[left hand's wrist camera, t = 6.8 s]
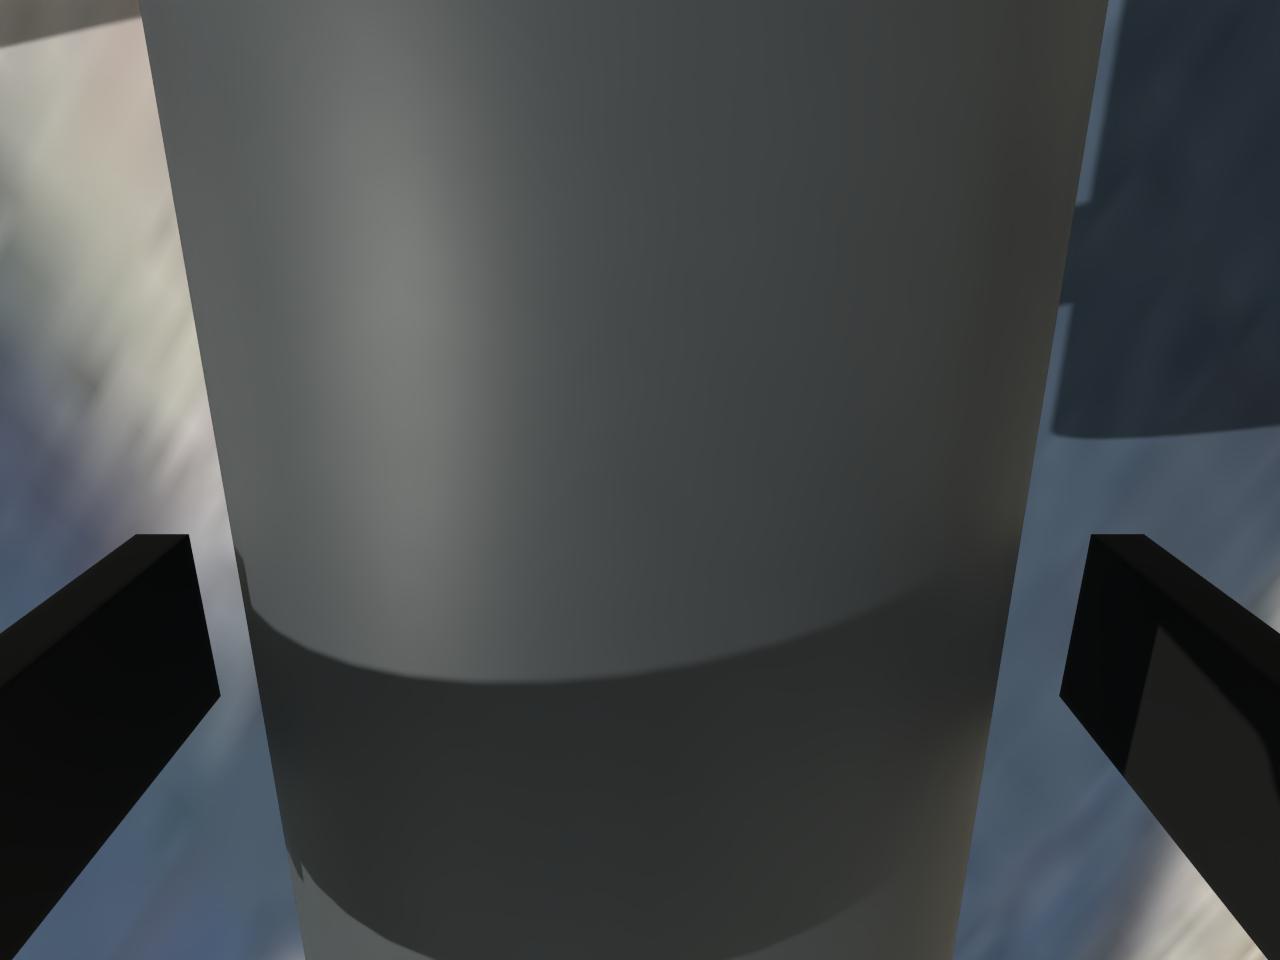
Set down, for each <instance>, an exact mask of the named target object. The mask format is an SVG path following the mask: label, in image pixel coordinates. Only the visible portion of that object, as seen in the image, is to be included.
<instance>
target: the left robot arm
mask: <svg viewBox="0 0 1280 960" xmlns="http://www.w3.org/2000/svg"><path fill="white" fill-rule="evenodd" d="M220 696H221V695H220V690H219V685H218V680H217V675H216V670H215V665H214V660H213V655H212V650H211V645H210V640H209V634H208V629H207V624H206V619H205V614H204V609H203V604H202V599H201V594H200V589H199V584H198V579H197V574H196V569H195V564H194V558H193V553H192V548H191V543H190V538H189V534H136V535H134V536H133V537H132V538H130V539H129V540H128V541H126V542H125V543H124V544H122V545H121V546H119V547H118V548H117V549H115V550H114V551H113V552H111V553H110V554H109V555H107V556H106V557H104V558H103V559H102V560H100V561H99V562H98V563H96V564H95V565H93V566H92V567H91V568H89V569H88V570H87V571H85V572H84V573H83V574H81V575H80V576H78V577H77V578H76V579H74V580H73V581H72V582H70V583H69V584H67V585H66V586H65V587H63V588H62V589H61V590H59V591H58V592H57V593H55V594H54V595H52V596H51V597H50V598H48V599H47V600H46V601H44V602H43V603H42V604H40V605H39V606H37V607H36V608H35V609H33V610H32V611H31V612H29V613H28V614H26V615H25V616H24V617H22V618H21V619H20V620H18V621H17V622H16V623H14V624H13V625H11V626H10V627H9V628H7V629H6V630H5V631H3V632H2V633H1V634H0V960H12V959H13V958H14V957H15V955H16V954H17V953H18V952H19V950H20V949H21V948H22V946H23V945H24V944H25V943H26V941H27V940H28V939H29V938H30V936H31V935H32V934H33V933H34V931H35V930H36V929H37V927H38V926H39V925H40V924H41V922H42V921H43V920H44V919H45V917H46V916H47V915H48V914H49V912H50V911H51V910H52V909H53V907H54V906H55V905H56V903H57V902H58V901H59V900H60V898H61V897H62V896H63V895H64V893H65V892H66V891H67V890H68V888H69V887H70V886H71V884H72V883H73V882H74V881H75V879H76V878H77V877H78V876H79V874H80V873H81V872H82V871H83V869H84V868H85V867H86V866H87V864H88V863H89V862H90V860H91V859H92V858H93V857H94V855H95V854H96V853H97V852H98V850H99V849H100V848H101V847H102V845H103V844H104V843H105V842H106V840H107V839H108V838H109V836H110V835H111V834H112V833H113V831H114V830H115V829H116V828H117V826H118V825H119V824H120V823H121V821H122V820H123V819H124V817H125V816H126V815H127V814H128V812H129V811H130V810H131V809H132V807H133V806H134V805H135V804H136V802H137V801H138V800H139V799H140V797H141V796H142V795H143V793H144V792H145V791H146V790H147V788H148V787H149V786H150V785H151V783H152V782H153V781H154V780H155V778H156V777H157V776H158V774H159V773H160V772H161V771H162V769H163V768H164V767H165V766H166V764H167V763H168V762H169V761H170V759H171V758H172V757H173V756H174V754H175V753H176V752H177V750H178V749H179V748H180V747H181V745H182V744H183V743H184V742H185V740H186V739H187V738H188V737H189V735H190V734H191V733H192V731H193V730H194V729H195V728H196V726H197V725H198V724H199V723H200V721H201V720H202V719H203V718H204V716H205V715H206V714H207V713H208V711H209V710H210V709H211V707H212V706H213V705H214V704H215V702H216V701H217V700H218V699H219V697H220ZM1059 696H1060V697H1061V699H1062V700H1063V701H1064V702H1065V704H1066V705H1067V706H1068V707H1069V709H1070V710H1071V711H1072V713H1073V714H1074V715H1075V716H1076V718H1077V719H1078V720H1079V721H1080V723H1081V724H1082V725H1083V726H1084V728H1085V729H1086V730H1087V731H1088V733H1089V734H1090V735H1091V737H1092V738H1093V739H1094V740H1095V742H1096V743H1097V744H1098V745H1099V747H1100V748H1101V749H1102V750H1103V752H1104V753H1105V754H1106V756H1107V757H1108V758H1109V759H1110V761H1111V762H1112V763H1113V764H1114V766H1115V767H1116V768H1117V769H1118V771H1119V772H1120V773H1121V774H1122V776H1123V777H1124V778H1125V780H1126V781H1127V782H1128V783H1129V785H1130V786H1131V787H1132V788H1133V790H1134V791H1135V792H1136V793H1137V795H1138V796H1139V797H1140V799H1141V800H1142V801H1143V802H1144V804H1145V805H1146V806H1147V807H1148V809H1149V810H1150V811H1151V812H1152V814H1153V815H1154V816H1155V817H1156V819H1157V820H1158V821H1159V823H1160V824H1161V825H1162V826H1163V828H1164V829H1165V830H1166V831H1167V833H1168V834H1169V835H1170V836H1171V838H1172V839H1173V840H1174V842H1175V843H1176V844H1177V845H1178V847H1179V848H1180V849H1181V850H1182V852H1183V853H1184V854H1185V855H1186V857H1187V858H1188V859H1189V860H1190V862H1191V863H1192V864H1193V866H1194V867H1195V868H1196V869H1197V871H1198V872H1199V873H1200V874H1201V876H1202V877H1203V878H1204V879H1205V881H1206V882H1207V883H1208V884H1209V886H1210V887H1211V888H1212V890H1213V891H1214V892H1215V893H1216V895H1217V896H1218V897H1219V898H1220V900H1221V901H1222V902H1223V903H1224V905H1225V906H1226V907H1227V909H1228V910H1229V911H1230V912H1231V914H1232V915H1233V916H1234V917H1235V919H1236V920H1237V921H1238V922H1239V924H1240V925H1241V926H1242V927H1243V929H1244V930H1245V931H1246V933H1247V934H1248V935H1249V936H1250V938H1251V939H1252V940H1253V941H1254V943H1255V944H1256V945H1257V946H1258V948H1259V949H1260V950H1261V952H1262V953H1263V954H1264V955H1265V957H1266V958H1267V959H1268V960H1280V634H1279V633H1278V632H1277V631H1275V630H1274V629H1273V628H1271V627H1270V626H1269V625H1267V624H1266V623H1264V622H1263V621H1262V620H1260V619H1259V618H1258V617H1256V616H1255V615H1254V614H1252V613H1251V612H1249V611H1248V610H1247V609H1245V608H1244V607H1243V606H1241V605H1240V604H1238V603H1237V602H1236V601H1234V600H1233V599H1232V598H1230V597H1229V596H1228V595H1226V594H1225V593H1223V592H1222V591H1221V590H1219V589H1218V588H1217V587H1215V586H1214V585H1213V584H1211V583H1210V582H1208V581H1207V580H1206V579H1204V578H1203V577H1202V576H1200V575H1199V574H1197V573H1196V572H1195V571H1193V570H1192V569H1191V568H1189V567H1188V566H1187V565H1185V564H1184V563H1182V562H1181V561H1180V560H1178V559H1177V558H1176V557H1174V556H1173V555H1171V554H1170V553H1169V552H1167V551H1166V550H1165V549H1163V548H1162V547H1161V546H1159V545H1158V544H1156V543H1155V542H1154V541H1152V540H1151V539H1150V538H1148V537H1147V536H1146V535H1144V534H1091V538H1090V543H1089V548H1088V553H1087V558H1086V564H1085V569H1084V574H1083V579H1082V584H1081V589H1080V594H1079V599H1078V604H1077V609H1076V614H1075V619H1074V624H1073V629H1072V634H1071V640H1070V645H1069V650H1068V655H1067V660H1066V665H1065V670H1064V675H1063V680H1062V685H1061V690H1060V695H1059Z"/></svg>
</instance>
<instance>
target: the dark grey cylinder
mask: <svg viewBox="0 0 1280 960" xmlns="http://www.w3.org/2000/svg"><path fill="white" fill-rule="evenodd" d="M139 4H140V10H141V15H142V21H143V27H144V33H145V38H146V44H147V50H148V56H149V61H150V67H151V73H152V79H153V84H154V90H155V96H156V102H157V107H158V113H159V119H160V125H161V130H162V136H163V142H164V148H165V153H166V159H167V165H168V171H169V176H170V182H171V188H172V194H173V199H174V205H175V211H176V217H177V222H178V228H179V234H180V240H181V245H182V251H183V257H184V263H185V268H186V274H187V280H188V286H189V291H190V297H191V303H192V309H193V314H194V320H195V326H196V332H197V337H198V343H199V349H200V355H201V360H202V366H203V372H204V378H205V383H206V389H207V395H208V401H209V406H210V412H211V418H212V424H213V429H214V435H215V441H216V447H217V452H218V458H219V464H220V470H221V475H222V481H223V487H224V493H225V498H226V504H227V510H228V516H229V521H230V527H231V533H232V539H233V544H234V550H235V556H236V562H237V567H238V573H239V579H240V585H241V590H242V596H243V602H244V608H245V613H246V619H247V625H248V631H249V636H250V642H251V648H252V654H253V659H254V665H255V671H256V677H257V682H258V688H259V694H260V700H261V705H262V711H263V717H264V723H265V728H266V734H267V740H268V746H269V751H270V757H271V763H272V769H273V774H274V780H275V786H276V792H277V797H278V803H279V809H280V815H281V820H282V826H283V832H284V838H285V843H286V849H287V855H288V861H289V866H290V872H291V878H292V884H293V889H294V895H295V901H296V907H297V912H298V918H299V924H300V930H301V935H302V941H303V947H304V953H305V958H306V960H952V956H953V950H954V944H955V938H956V932H957V926H958V920H959V914H960V907H961V901H962V895H963V889H964V883H965V877H966V871H967V864H968V858H969V852H970V846H971V840H972V834H973V828H974V822H975V815H976V809H977V803H978V797H979V791H980V785H981V779H982V773H983V766H984V760H985V754H986V748H987V742H988V736H989V730H990V724H991V717H992V711H993V705H994V699H995V693H996V687H997V681H998V675H999V668H1000V662H1001V656H1002V650H1003V644H1004V638H1005V632H1006V625H1007V619H1008V613H1009V607H1010V601H1011V595H1012V589H1013V583H1014V576H1015V570H1016V564H1017V558H1018V552H1019V546H1020V540H1021V534H1022V527H1023V521H1024V515H1025V509H1026V503H1027V497H1028V491H1029V485H1030V478H1031V472H1032V466H1033V460H1034V454H1035V448H1036V442H1037V435H1038V429H1039V423H1040V417H1041V411H1042V405H1043V399H1044V393H1045V386H1046V380H1047V374H1048V368H1049V362H1050V356H1051V350H1052V344H1053V337H1054V331H1055V325H1056V319H1057V313H1058V307H1059V301H1060V295H1061V288H1062V282H1063V276H1064V270H1065V264H1066V258H1067V252H1068V246H1069V239H1070V233H1071V227H1072V221H1073V215H1074V209H1075V203H1076V196H1077V190H1078V184H1079V178H1080V172H1081V166H1082V160H1083V154H1084V147H1085V141H1086V135H1087V129H1088V123H1089V117H1090V111H1091V105H1092V98H1093V92H1094V86H1095V80H1096V74H1097V68H1098V62H1099V56H1100V49H1101V43H1102V37H1103V31H1104V25H1105V19H1106V13H1107V6H1108V0H139Z"/></svg>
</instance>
